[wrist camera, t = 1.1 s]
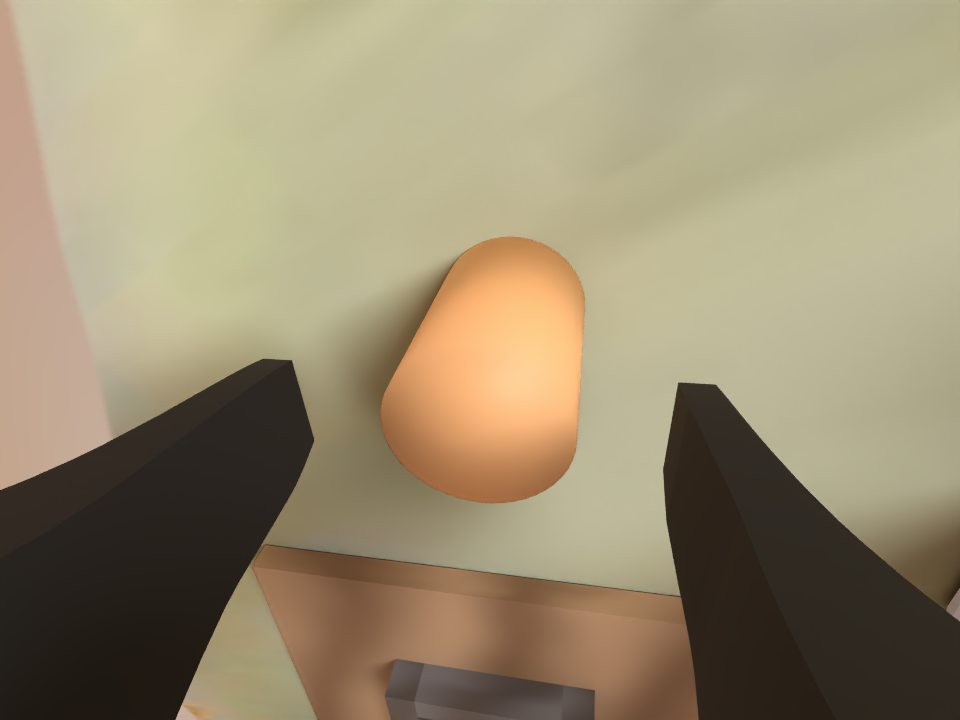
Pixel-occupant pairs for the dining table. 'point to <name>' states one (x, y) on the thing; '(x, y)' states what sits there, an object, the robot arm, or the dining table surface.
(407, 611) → the socket
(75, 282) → the dining table surface
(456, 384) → the peg
